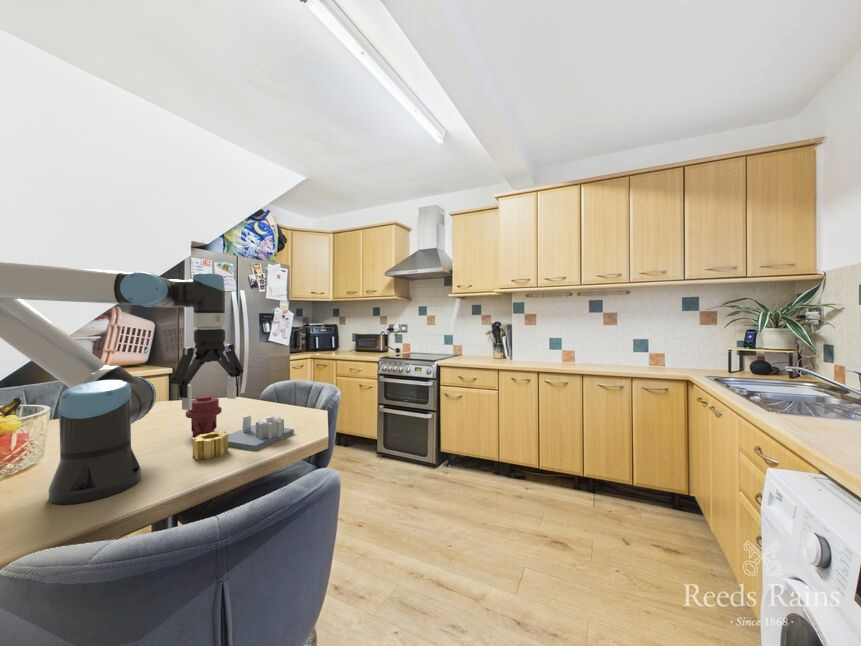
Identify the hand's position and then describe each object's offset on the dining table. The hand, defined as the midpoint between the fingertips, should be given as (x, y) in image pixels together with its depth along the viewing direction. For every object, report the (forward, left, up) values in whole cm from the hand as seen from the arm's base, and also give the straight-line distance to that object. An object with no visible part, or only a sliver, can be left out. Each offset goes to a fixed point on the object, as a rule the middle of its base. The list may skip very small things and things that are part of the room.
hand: (210, 403), depth 99 cm
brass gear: (0, 0, -14) cm, 14 cm away
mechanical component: (+12, +18, -14) cm, 26 cm away
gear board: (+14, -2, -14) cm, 20 cm away
